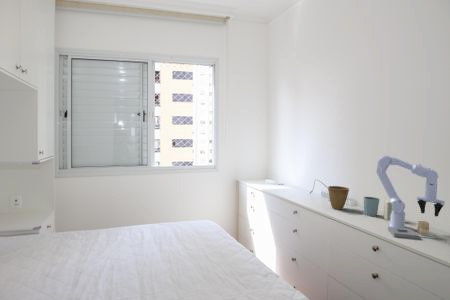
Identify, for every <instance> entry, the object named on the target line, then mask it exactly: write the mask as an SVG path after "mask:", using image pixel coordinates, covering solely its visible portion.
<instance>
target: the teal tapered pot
mask: <svg viewBox="0 0 450 300" xmlns="http://www.w3.org/2000/svg"><path fill="white" fill-rule="evenodd" d="M379 204H380V198H379V197H376V196H375V197H373V196H363V215H364V216H366V215H367V217H377V216H378V211H379Z"/></svg>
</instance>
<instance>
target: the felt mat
mask: <svg viewBox="0 0 450 300" xmlns="http://www.w3.org/2000/svg"><path fill="white" fill-rule="evenodd" d="M414 232H415V233H416V234H418V233H417V231H414ZM418 235H419V238H422V239H423V238H424V239H425V238H426V239H434V240H436V237H435V236H434V235H433V234H431V233H430V232H429V236H424V235H420V234H418Z"/></svg>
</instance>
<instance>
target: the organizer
mask: <svg viewBox="0 0 450 300" xmlns="http://www.w3.org/2000/svg"><path fill="white" fill-rule="evenodd" d="M387 231H388V232H389V233H390V234H391V235H392V236H393V238H401V239H410V240H411V239H412V240H420V237H419V235H418V234H416V233H415V232H416V231H414V230H413V229H412V228H408V227H405V228H399V227H390V226H387Z"/></svg>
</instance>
